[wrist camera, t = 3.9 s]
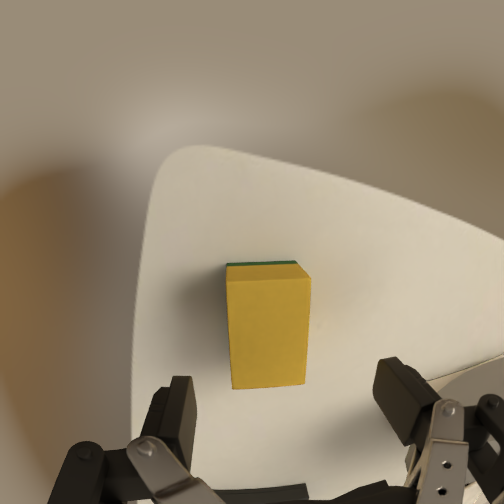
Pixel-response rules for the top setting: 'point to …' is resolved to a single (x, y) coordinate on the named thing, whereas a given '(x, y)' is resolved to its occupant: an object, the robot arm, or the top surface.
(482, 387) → the alarm clock
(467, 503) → the plate
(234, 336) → the sponge
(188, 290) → the top surface
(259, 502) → the tray
